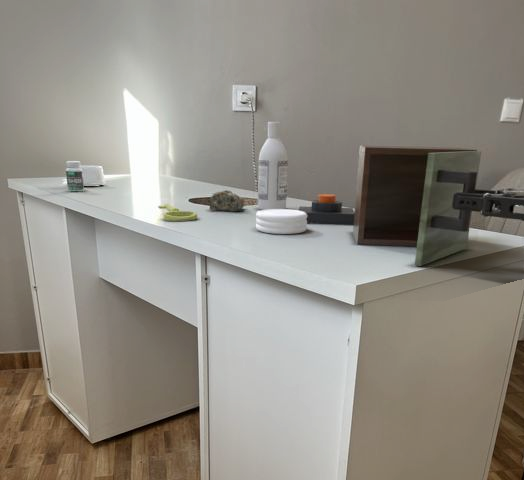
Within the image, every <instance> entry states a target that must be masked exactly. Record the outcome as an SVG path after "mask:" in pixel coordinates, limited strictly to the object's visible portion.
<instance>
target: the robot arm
mask: <svg viewBox="0 0 524 480" xmlns="http://www.w3.org/2000/svg"><path fill="white" fill-rule="evenodd" d="M452 208H453V209H455V210H465V211H472V212H475V213H476V212H477V213H479V214H481V216H483V217H485V218H486V217H487V218H488V217H492V218H493V217H494V218H500V219H505V220H506V219H507V220H520V221H522V222H524V188H523V187H511V188H509V187H508V188H500V189H496V190H494V189H479V188H476V189H475V194H474V193H461V192H458V193H455V194H454V196H453V203H452Z"/></svg>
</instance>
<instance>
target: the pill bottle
mask: <svg viewBox="0 0 524 480" xmlns="http://www.w3.org/2000/svg"><path fill="white" fill-rule="evenodd" d="M65 163H66V169H65V176H66V186H67V191H68V192H71V191H81V192H84V191H85V187H84V183H83V171H82V169H81V168H80V167H81V166H82V164H81V161H77V160H67V161H66V162H65Z"/></svg>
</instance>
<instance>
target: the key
mask: <svg viewBox="0 0 524 480" xmlns="http://www.w3.org/2000/svg"><path fill="white" fill-rule="evenodd" d="M157 208H158V209H160V210H163V209H165V210H166V211H165V212H163V220H164V221H168V222H183V221H184V222H185V221H195V220H197V218H198V214H197V212H195V211H190V210H180V209H179V208H176V207H175V208H174V207H173V206H172V205H170V204H169V203H165V204H164V205H158V206H157Z"/></svg>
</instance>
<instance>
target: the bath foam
mask: <svg viewBox="0 0 524 480" xmlns="http://www.w3.org/2000/svg"><path fill="white" fill-rule="evenodd" d="M258 155H259V156H258V180H257V181H258V183H257V185H258V187H257V194H258V195H257V208H258V210H259V211H261V210H267V209H286V208H287V190H288V167H289V166H288V165H289V164H288V163H289V161H288V159H289V157H288V152H287V149H286V148H285V145H284V143H283V142H282V140H281V122H280V121H267V138H266V140H265V141H264V143H263V145H262V147H261V149H260V151H259V154H258Z"/></svg>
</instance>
